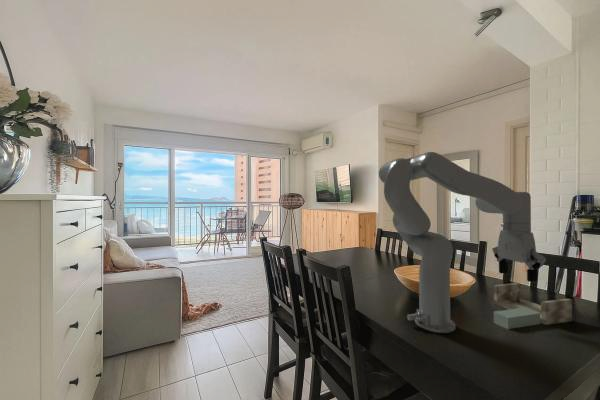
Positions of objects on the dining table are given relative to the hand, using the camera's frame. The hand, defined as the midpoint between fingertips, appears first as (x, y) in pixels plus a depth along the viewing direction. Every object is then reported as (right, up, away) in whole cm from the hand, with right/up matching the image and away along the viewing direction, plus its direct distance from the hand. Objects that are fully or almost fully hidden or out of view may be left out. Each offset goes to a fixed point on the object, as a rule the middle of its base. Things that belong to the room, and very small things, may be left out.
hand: (516, 276), depth 91 cm
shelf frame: (+12, -16, +9) cm, 22 cm away
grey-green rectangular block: (0, -16, 0) cm, 16 cm away
